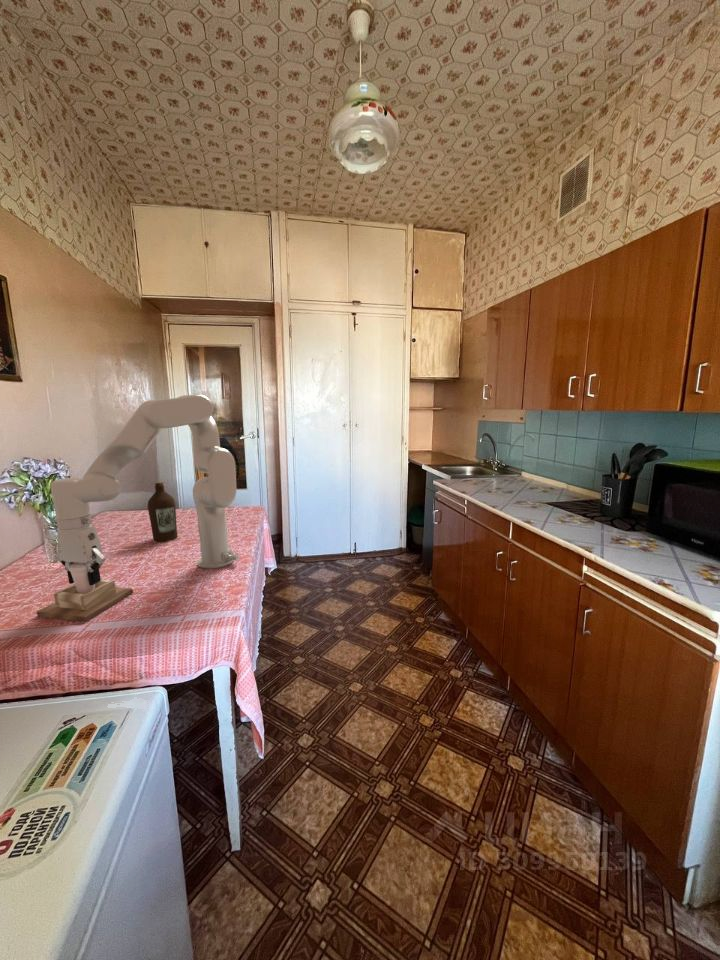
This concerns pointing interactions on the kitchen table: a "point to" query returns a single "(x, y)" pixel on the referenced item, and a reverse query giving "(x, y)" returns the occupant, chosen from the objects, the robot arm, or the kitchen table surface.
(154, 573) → the kitchen table surface
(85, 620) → the wooden open box
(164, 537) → the olive oil
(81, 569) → the smoothie
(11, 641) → the kitchen table surface
